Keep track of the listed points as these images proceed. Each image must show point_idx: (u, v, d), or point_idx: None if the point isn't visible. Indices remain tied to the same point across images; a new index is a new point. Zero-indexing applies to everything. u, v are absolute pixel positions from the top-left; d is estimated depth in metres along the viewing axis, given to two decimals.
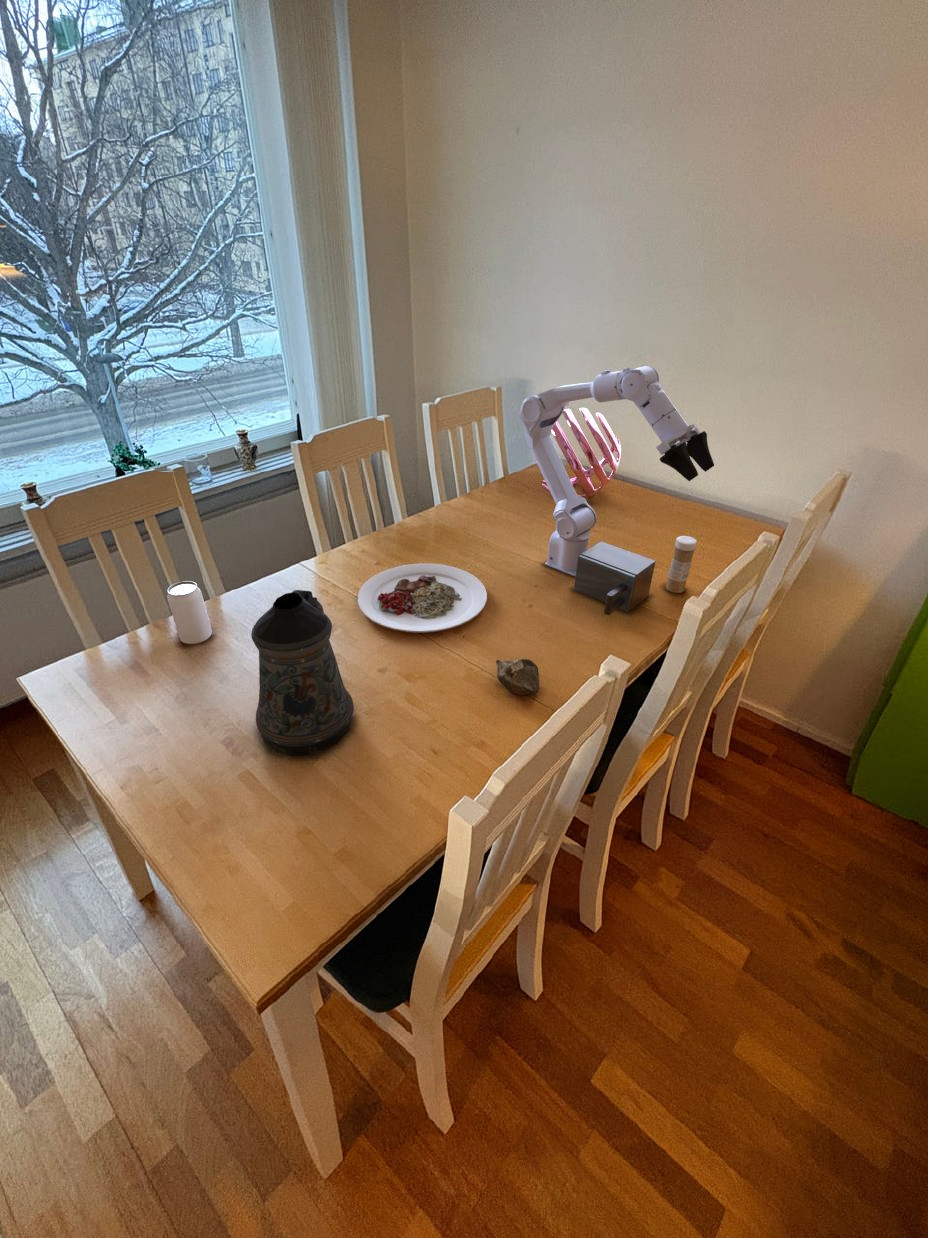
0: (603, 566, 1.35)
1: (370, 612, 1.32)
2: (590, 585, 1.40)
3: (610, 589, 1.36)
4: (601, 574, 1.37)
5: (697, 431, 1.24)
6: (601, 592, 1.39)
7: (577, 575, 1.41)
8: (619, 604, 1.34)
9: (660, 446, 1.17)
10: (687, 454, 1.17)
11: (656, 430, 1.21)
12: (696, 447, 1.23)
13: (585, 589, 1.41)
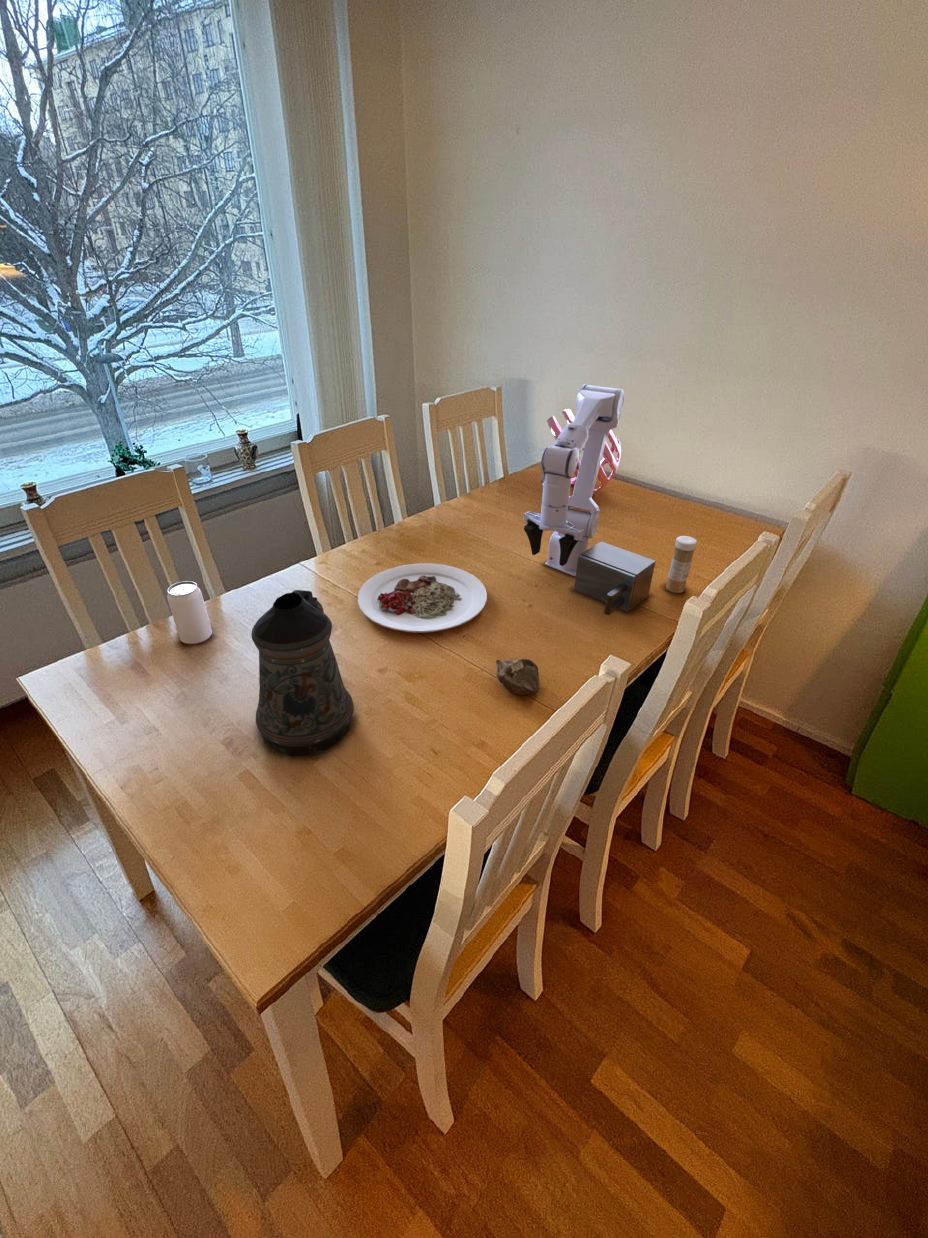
0: (603, 566, 1.35)
1: (370, 612, 1.32)
2: (590, 585, 1.40)
3: (610, 589, 1.36)
4: (601, 574, 1.37)
5: (575, 536, 1.27)
6: (601, 592, 1.39)
7: (577, 575, 1.41)
8: (619, 604, 1.34)
9: None
10: (530, 537, 1.34)
11: None
12: None
13: (585, 589, 1.41)
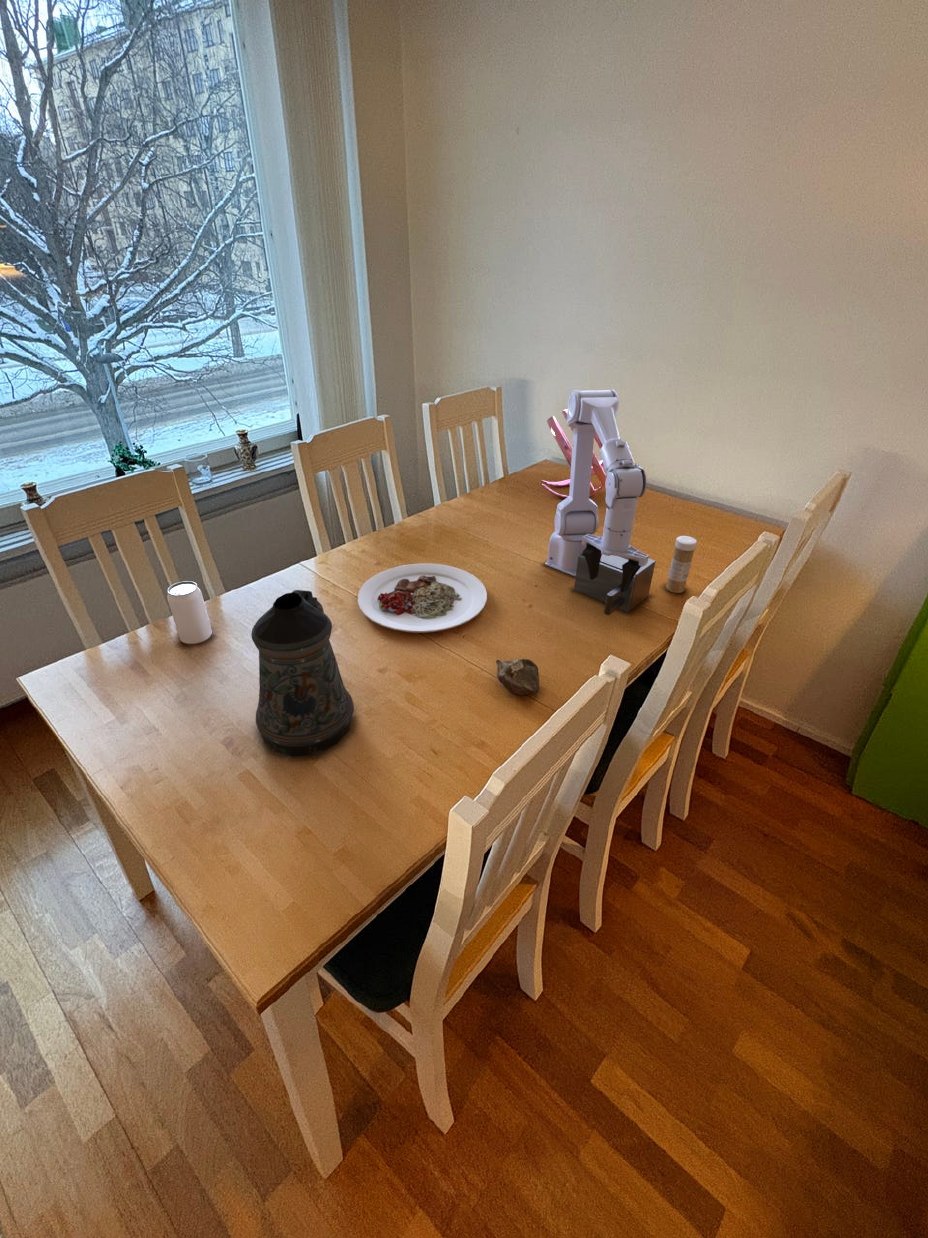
0: (603, 566, 1.35)
1: (370, 612, 1.32)
2: (590, 585, 1.40)
3: (610, 589, 1.36)
4: (601, 574, 1.37)
5: (640, 562, 1.20)
6: (601, 592, 1.39)
7: (577, 575, 1.41)
8: (619, 604, 1.34)
9: None
10: (589, 562, 1.27)
11: None
12: None
13: (585, 589, 1.41)
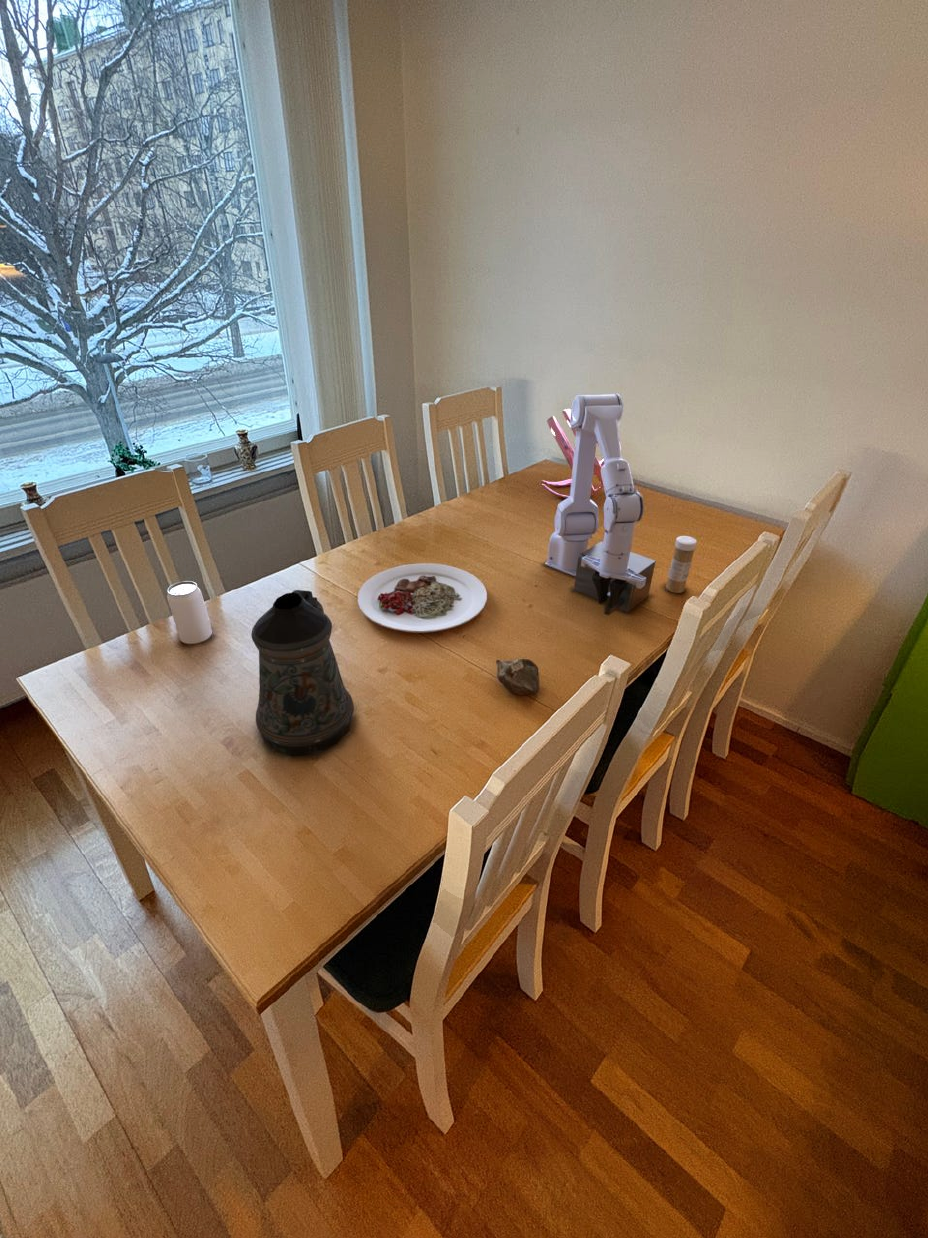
0: None
1: (370, 612, 1.32)
2: (590, 585, 1.40)
3: None
4: None
5: (637, 584, 1.22)
6: None
7: (577, 575, 1.41)
8: (619, 604, 1.34)
9: None
10: (598, 587, 1.28)
11: None
12: None
13: (585, 589, 1.41)
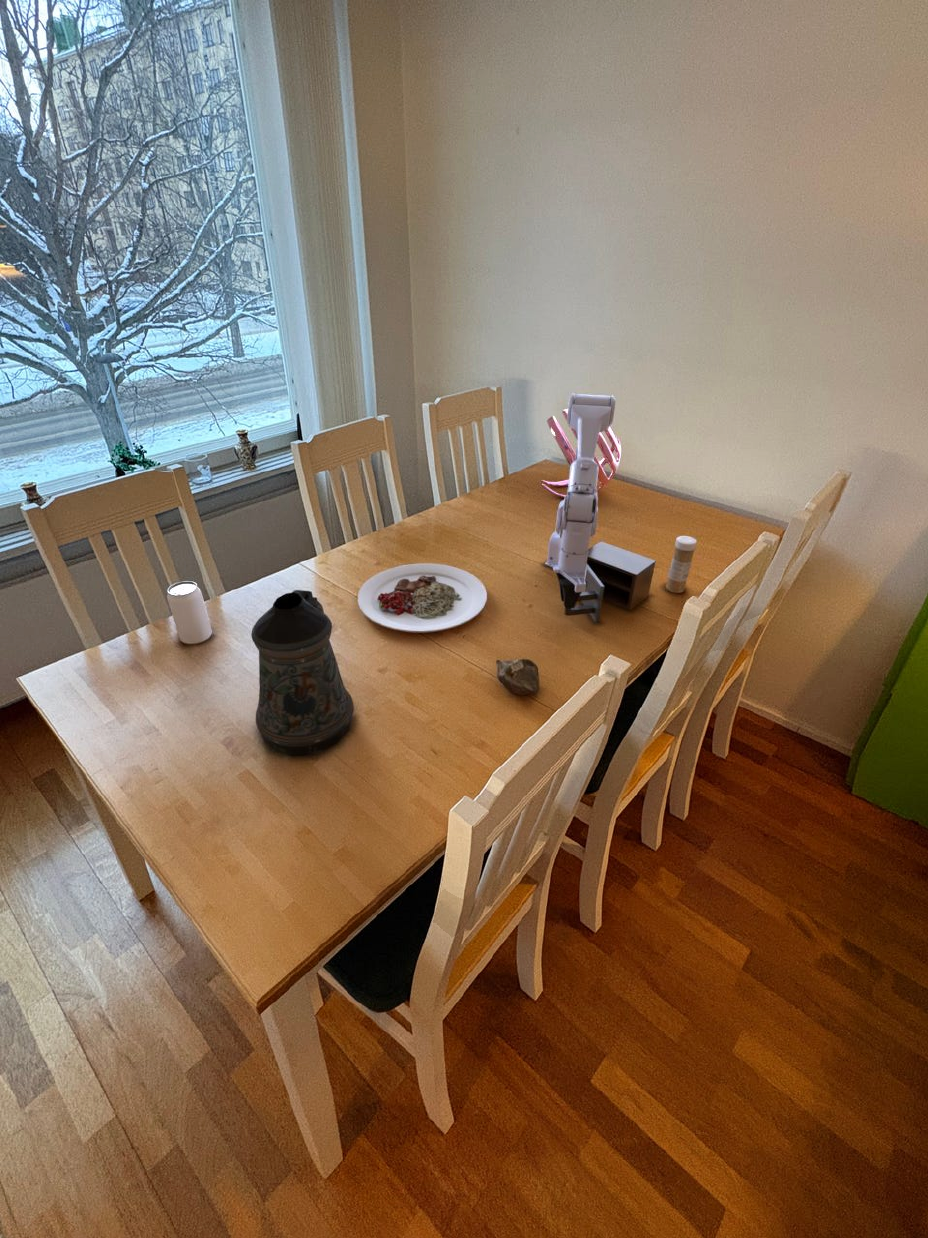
0: (587, 570, 1.34)
1: (370, 612, 1.32)
2: None
3: None
4: (586, 578, 1.35)
5: (575, 587, 1.21)
6: None
7: None
8: (585, 610, 1.32)
9: None
10: (559, 582, 1.30)
11: None
12: None
13: None
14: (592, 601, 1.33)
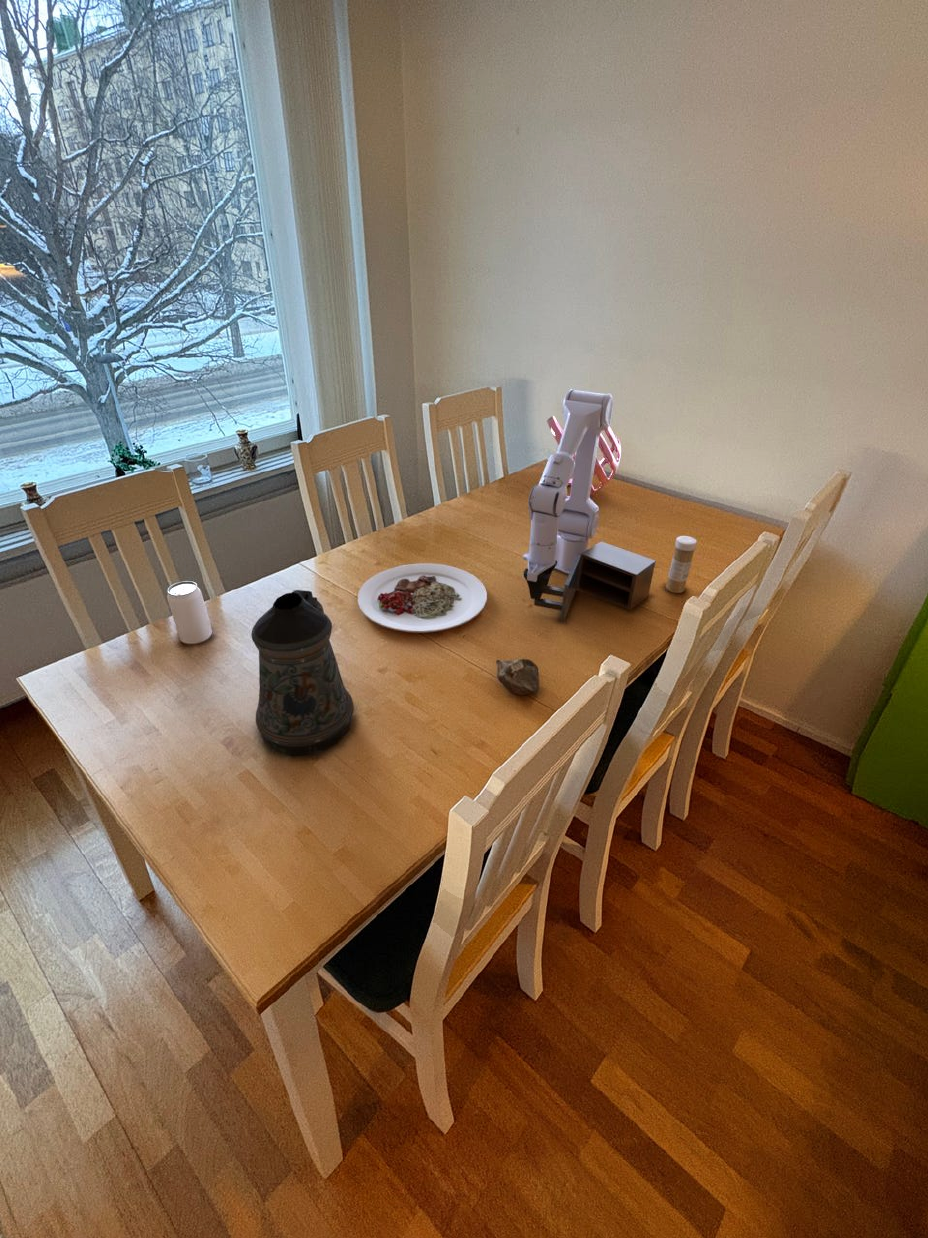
0: (571, 569, 1.34)
1: (370, 612, 1.32)
2: None
3: None
4: None
5: None
6: None
7: None
8: (553, 606, 1.33)
9: None
10: None
11: None
12: None
13: None
14: None
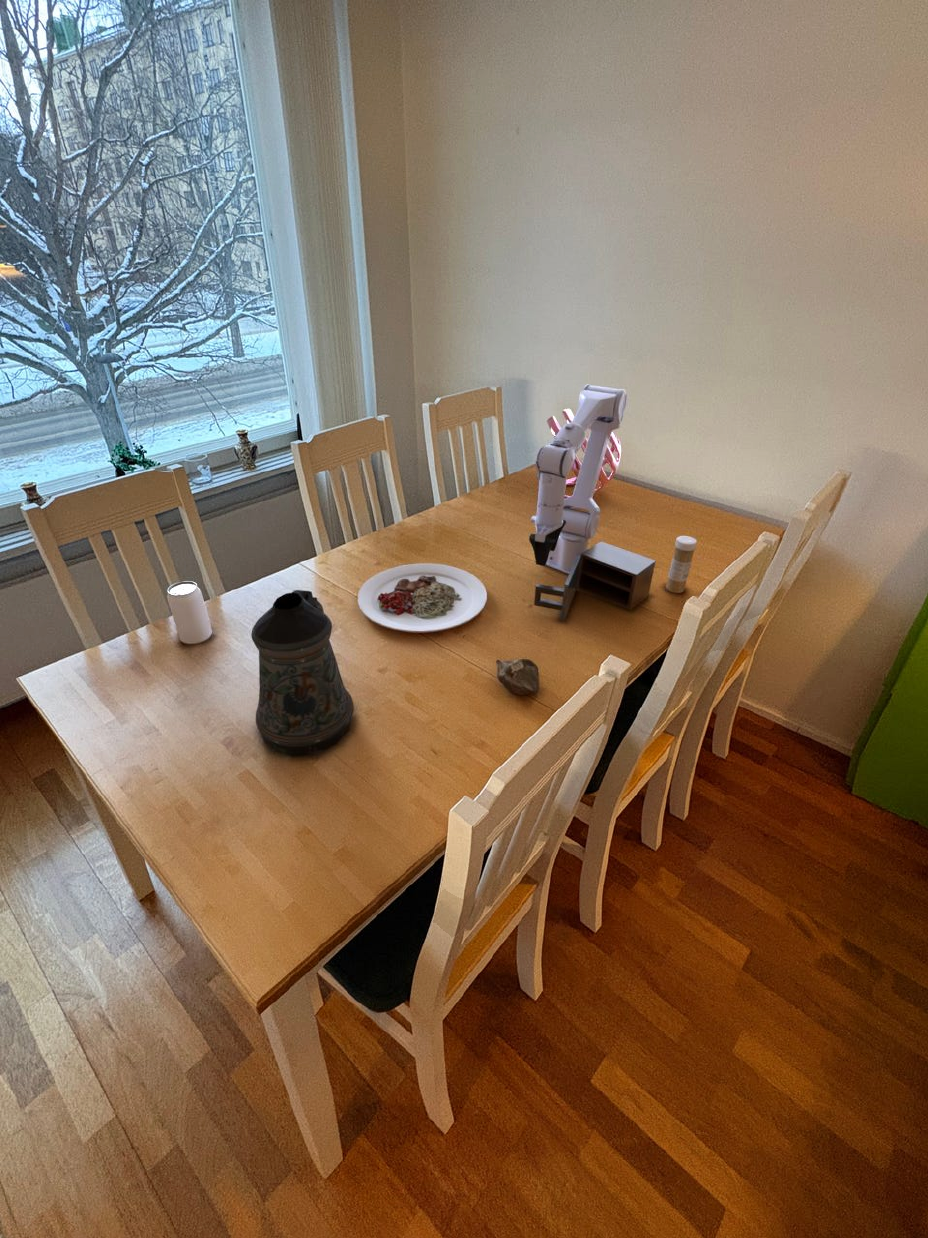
0: (571, 569, 1.34)
1: (370, 612, 1.32)
2: None
3: None
4: None
5: None
6: None
7: None
8: (553, 606, 1.33)
9: None
10: None
11: None
12: None
13: None
14: None
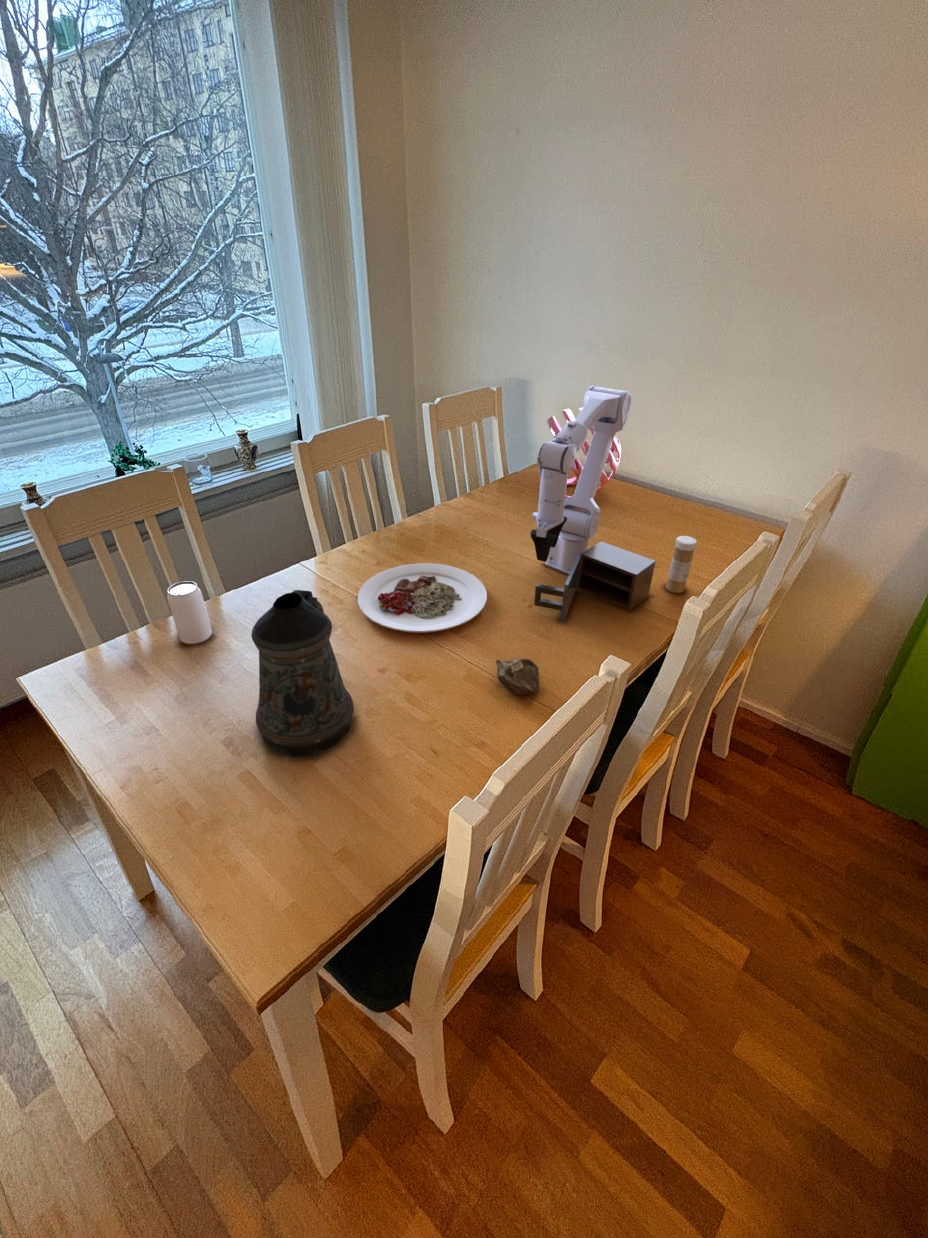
0: (571, 569, 1.34)
1: (370, 612, 1.32)
2: None
3: None
4: None
5: None
6: None
7: None
8: (553, 606, 1.33)
9: None
10: None
11: None
12: None
13: None
14: None
